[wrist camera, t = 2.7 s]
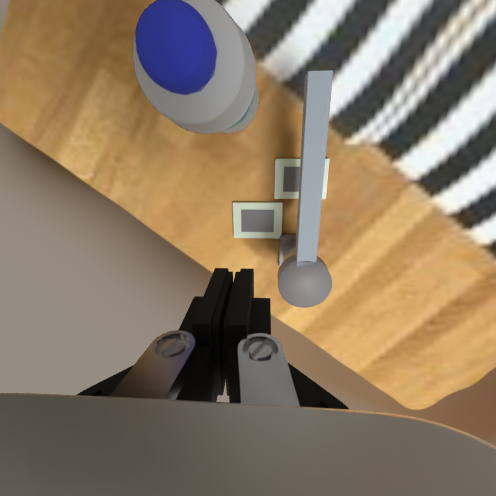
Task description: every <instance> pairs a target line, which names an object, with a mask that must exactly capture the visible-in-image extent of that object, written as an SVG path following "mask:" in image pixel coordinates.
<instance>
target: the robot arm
mask: <svg viewBox="0 0 496 496" xmlns="http://www.w3.org/2000/svg"><path fill="white" fill-rule="evenodd" d="M270 315H271V314H270V298H254V271H253V269H241V271H240V272H236V274H235V278H234V282H233V272H228V268H215V270H214V272H213V275H212V277H211V279H210V282H209V284H208V287H207V289H206V292H205V294H204V296H203V297H197V296H196V297H194V299H193V301H192V303H191V305H190V307H189V309H188V311H187V313H186V316H185V318H184V320H183V322H182V324H181V326H180V328H179V330H178V331H177V330H176V331H170V332H167V333H164V334H162V335H161V336H159V337H157V338H156V339H155V340H154V341H153V342H152V343H151V344H150V346H149V347H148V348H147V350H146V351H145V352H144V353H143V355H142V356H141V357H140V358H139V359H138V361H137V362H136V363H135V364H134V365H133V366H131V367H129V368H127V369H126V370H123V371H121V372H119V373H117V374H116V375H113V376H111V377H109V378H108V379H105V380H103V381H101V382H99V383H97V384H96V385H94V386H91V387H90V388H88V389H86V390H84V391H82V392H80V393H79V394H77V395H58V394H35V393H0V496H496V446H494V445H492V444H490V443H488V442H486V441H484V440H482V439H480V438H478V437H476V436H473V435H471V434H469V433H466V432H463V431H460V430H457V429H455V428H452V427H449V426H447V425H444V424H441V423H437V422H433V421H429V420H425V419H421V418H417V417H411V416H405V415H398V414H391V413H381V412H370V411H360V410H350V409H348V407H347V406H345V405H344V404H343V403H342V402H341V401H339V400H338V399H337V398H335V397H334V396H333V395H331V394H330V393H329V392H327V391H326V390H324V389H323V388H322V387H320V386H319V385H318V384H316V383H315V382H314V381H312V380H311V379H309V378H308V377H307V376H305V375H304V374H303V373H301V372H300V371H299V370H297V369H296V368H295V367H293V366H292V365H290V364H289V363H287V360H286V356H285V353H284V349H283V346H282V344H281V342H280V341H279V340H278V339H277V338H275V337H274V336H271V316H270ZM225 381H226V387H227V395H228V396H230V397H229V399H230V403H224V402H216V400H217V396H218V395H223V392H224V386H225Z"/></svg>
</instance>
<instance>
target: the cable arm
mask: <svg viewBox="0 0 496 496" xmlns="http://www.w3.org/2000/svg"><path fill="white" fill-rule="evenodd" d="M332 77H333V71H308V73H307V75H306V76H305V88H304V106H303V123H302V141H301V159H300V177H299V195H298V213H297V231H296V249H295V254H294V255H292V256H290V257H288V258H287V259H285V260H284V261H283V263H282V264H281V266H280V268H279V270H278V288H279V292H280V294H281V296H282V297H283V299H284V300H285V301H287V302H288V303H289V304H291V305H293V306H296V307H303V308H305V307H312V306H315V305H318V304H320V303H321V302H323V301H324V300H325V299H326V298H327V296H328V295H329V293H330V291H331V288H332V279H331V276H330V273H329V271H328V269H327V267H326V265H325V263H324V262H323V261H322V260H321V259H320V258H319V257H318V256H317V248H318V237H319V225H320V214H321V203H322V191H323V180H324V168H325V157H326V146H327V134H328V123H329V111H330V100H331V89H332Z"/></svg>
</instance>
